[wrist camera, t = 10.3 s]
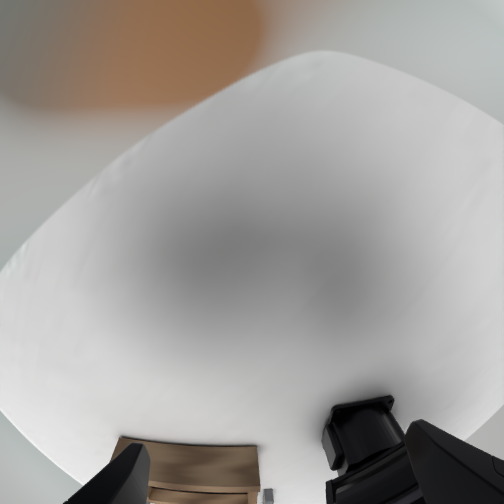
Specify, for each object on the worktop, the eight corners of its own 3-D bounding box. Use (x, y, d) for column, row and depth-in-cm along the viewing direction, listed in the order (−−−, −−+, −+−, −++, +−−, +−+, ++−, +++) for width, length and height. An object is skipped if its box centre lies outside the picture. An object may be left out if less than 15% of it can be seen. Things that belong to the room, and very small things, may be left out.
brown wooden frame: (256, 446, 23) (260, 486, 18) (255, 497, 26) (258, 527, 21) (119, 437, 23) (106, 471, 18) (146, 490, 25) (140, 519, 20)
